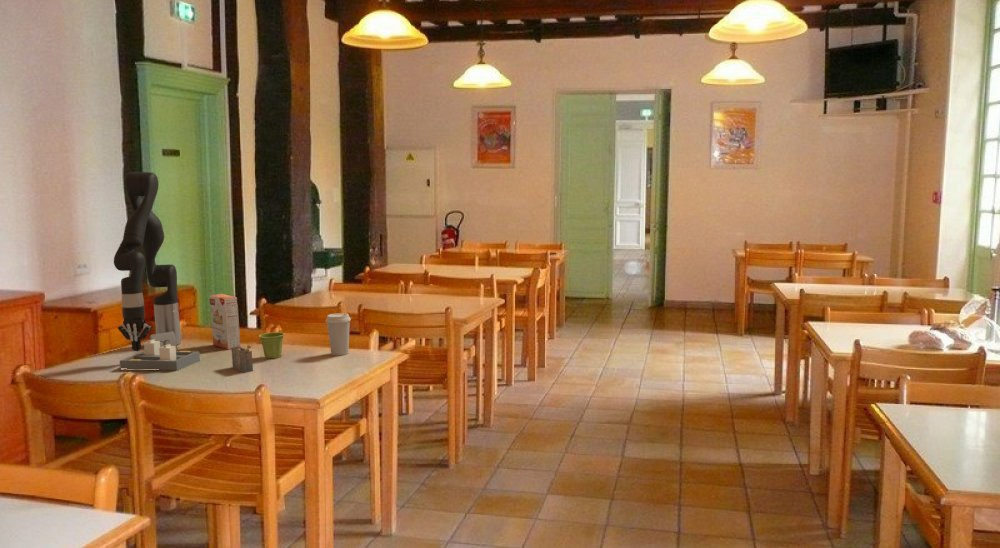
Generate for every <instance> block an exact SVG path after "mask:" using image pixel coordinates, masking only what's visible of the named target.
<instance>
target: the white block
mask: <svg viewBox="0 0 1000 548" xmlns="http://www.w3.org/2000/svg"><path fill="white" fill-rule="evenodd" d="M159 348H160V341H155V339H152V340H150V339H149V340H148V341H146V342H144V343H143V350H144V351H143V352H145V355H160V352H159Z"/></svg>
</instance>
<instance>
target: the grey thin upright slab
mask: <svg viewBox="0 0 1000 548" xmlns="http://www.w3.org/2000/svg"><path fill="white" fill-rule="evenodd" d="M250 349H252V345H251V344H248V345H247V347H246V348H243V347H240V348H239V347H232V349H231V360H232V362H231V363H232V368H234V369H236V370H238V369H239V371H241V372H243V371H244V373H250V372H253V371H254V366H253V363H254V362H253V354H252V353H253V352H252V350H250Z"/></svg>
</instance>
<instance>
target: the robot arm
mask: <svg viewBox="0 0 1000 548" xmlns="http://www.w3.org/2000/svg"><path fill="white" fill-rule="evenodd" d="M124 186H125V191H126V194H127V197H128V200H129V203H130V205H131V210H132V212H133V213H132V214H131V216H129V218H128V220H127V221H126V223H125V227H124V232H123V236H122V237H123V238H122V240H121V243H120V245H119V246H118V248H117V250H116V252H115V254H114V257H113V265H114V267H115V268H116V270H118V271H121V272H125V271H128V272H130V271H131V274H130V275H129V276H126V277H122V279H121V281H120V288H121V290H120V291H121V308H122V309H121V311H122V318H123V322H122V324H121V325H120V326H118V327H117V330H118V331H119V332H120V333H121V334H122V335H123V337H124V338H125V339H126V340H127V341H128V340H129V341H130V342H131V349H132V350H133V352H138V351H140V350H141V349H142V342H141V341H142V340H144V339H146V338H147V336H148V335H149V333H150V332H151V330H152V328H153V327H152V325H148V324H147V321H146V319H145V316H146V315H145V314H146V312H145V299H144V294H143V286H142V285H143V283H142V279H143V276H144V275H143V274H144V270H145V271H146V277H147V281H148V284H149V286H150V287H152V288H167V290H166V291H165V292H163V293H161V294H159V295H155V296H154V298H153V308H154V311H153V312H154V321H155V322H154V323H155V334H160V333H166V332H174V333H175V339H176V344H177V346H178V345H180V344H182V332H181V320H180V315H179V314H180V313H179V302H178V300H179V298H178V273H177V272H178V271H177V267H176V266H175V265H174V264H156V258H157V255H158V252H159V250H160V248H161V247H162V245H163V243H164V240H165V234H164V233H165V232H164V227H163V224H162V222H161V220H160V219H159V217H158V216H157V215H156V214H155V213H154V212H153V211H152V209H153V206H154V203H155V200H156V197H157V193H158V190H159V178H158V176H157V174H156V173H155V172H148V171H129V172H128V173H126V175H125V177H124ZM139 248H141V250H142V252H141V251H133V250H135V249H139Z"/></svg>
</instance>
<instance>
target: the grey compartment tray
mask: <svg viewBox="0 0 1000 548" xmlns="http://www.w3.org/2000/svg"><path fill="white" fill-rule="evenodd" d="M176 359H177V360H160V355H145V352H144V351H141V352H139V353H136V354H134V355H131V356H128V357H126V358H124V359H120V360H119V366H120V367H119V369H121V368H127V369H159V370H178V371H180V370H182V369H185V368H186V366H187V367H189V366H191V365H193V363H194V364H195V363H198V362H200V361H201V357H200V351H199V350H198V351H197V350H196V351H191V350H178V351H176ZM188 365H189V366H188ZM184 367H185V368H184ZM181 368H182V369H181ZM179 369H180V370H179Z"/></svg>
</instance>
